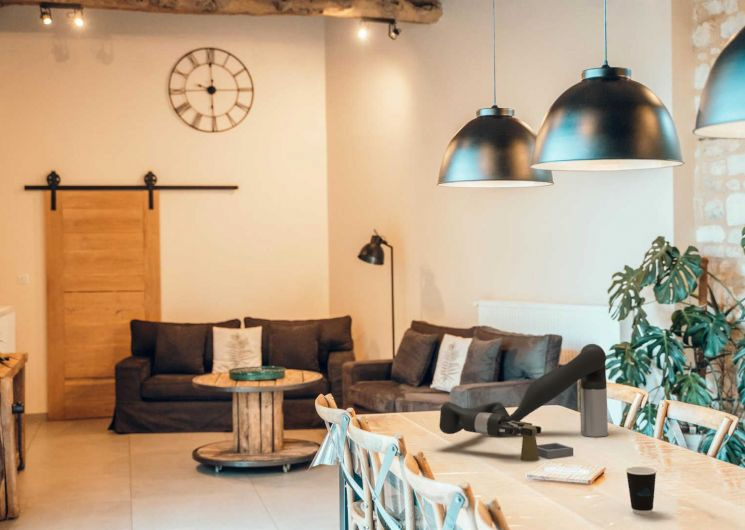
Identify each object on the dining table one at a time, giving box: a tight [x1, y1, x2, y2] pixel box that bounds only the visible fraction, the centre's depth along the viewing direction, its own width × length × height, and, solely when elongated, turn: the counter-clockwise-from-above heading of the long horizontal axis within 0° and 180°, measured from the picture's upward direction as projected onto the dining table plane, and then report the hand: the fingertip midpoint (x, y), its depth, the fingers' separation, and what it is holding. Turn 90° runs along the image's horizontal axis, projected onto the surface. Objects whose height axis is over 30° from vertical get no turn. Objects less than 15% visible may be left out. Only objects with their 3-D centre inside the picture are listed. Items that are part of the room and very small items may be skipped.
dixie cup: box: [624, 466, 658, 515], centre depth 249 cm, size 8×8×11 cm
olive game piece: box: [520, 424, 540, 462], centre depth 314 cm, size 6×6×11 cm
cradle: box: [537, 442, 574, 460], centre depth 320 cm, size 10×10×3 cm
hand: (536, 431), depth 312 cm, fingers closed on olive game piece, 5 cm apart
